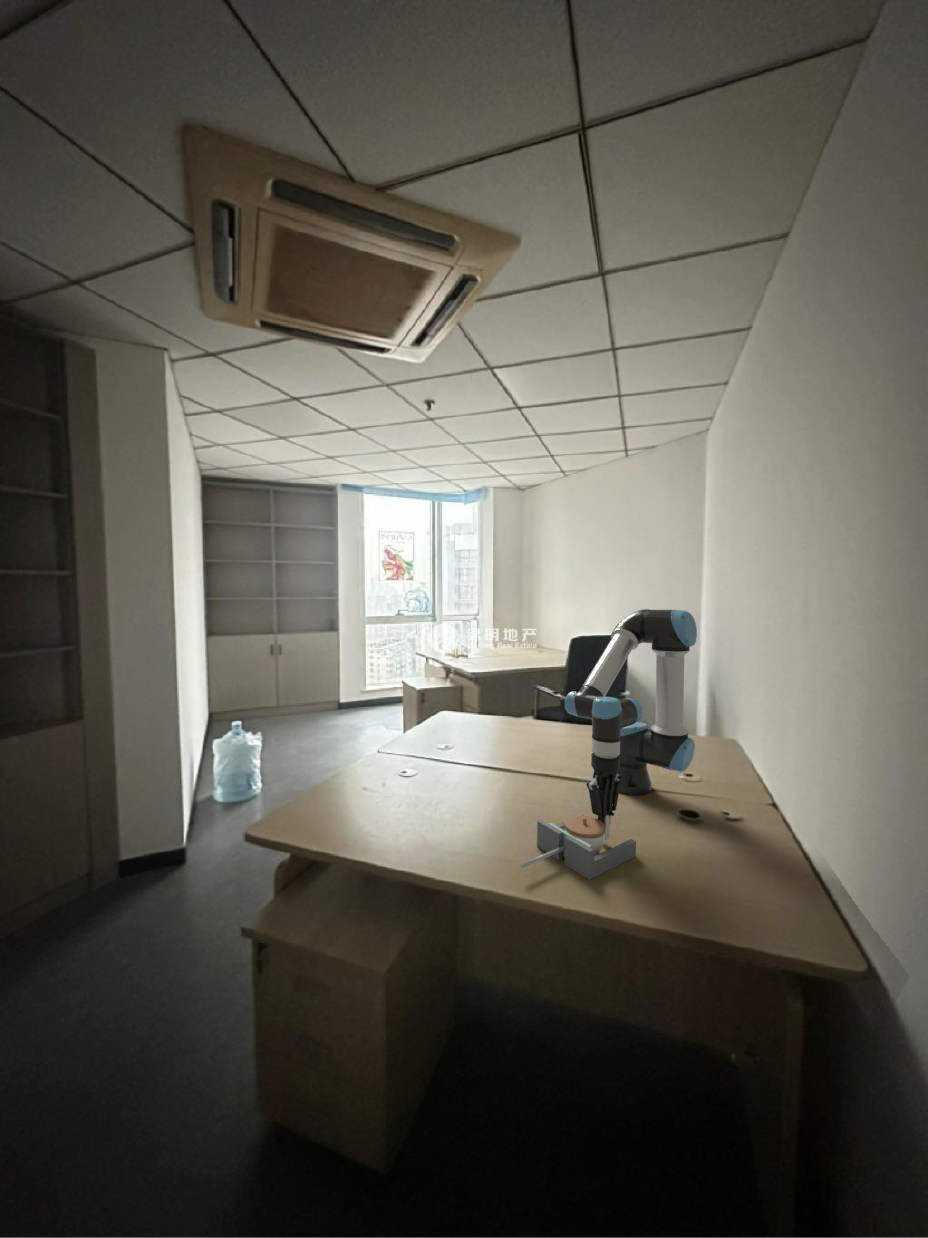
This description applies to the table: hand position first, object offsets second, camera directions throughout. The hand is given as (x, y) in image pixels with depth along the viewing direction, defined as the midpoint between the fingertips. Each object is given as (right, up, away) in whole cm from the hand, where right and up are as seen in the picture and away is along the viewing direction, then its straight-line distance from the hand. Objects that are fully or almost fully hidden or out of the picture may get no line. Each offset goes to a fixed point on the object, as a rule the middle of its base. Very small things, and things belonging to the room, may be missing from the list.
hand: (603, 837), depth 127 cm
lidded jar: (-7, -2, -5) cm, 8 cm away
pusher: (-18, -1, -12) cm, 22 cm away
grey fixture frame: (-6, -2, -4) cm, 7 cm away
